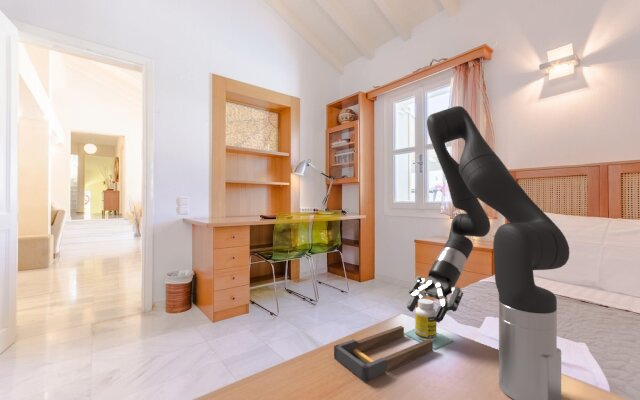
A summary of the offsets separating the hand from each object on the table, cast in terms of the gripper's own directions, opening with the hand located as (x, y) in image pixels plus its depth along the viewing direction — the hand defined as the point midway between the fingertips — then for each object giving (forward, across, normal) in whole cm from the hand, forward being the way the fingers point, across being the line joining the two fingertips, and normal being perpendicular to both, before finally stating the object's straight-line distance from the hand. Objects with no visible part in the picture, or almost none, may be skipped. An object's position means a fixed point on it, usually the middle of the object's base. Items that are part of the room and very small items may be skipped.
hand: (422, 315), depth 79 cm
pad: (+3, 0, +6) cm, 7 cm away
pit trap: (+20, 0, -11) cm, 23 cm away
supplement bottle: (+4, 0, +6) cm, 7 cm away
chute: (+12, 0, -3) cm, 13 cm away
